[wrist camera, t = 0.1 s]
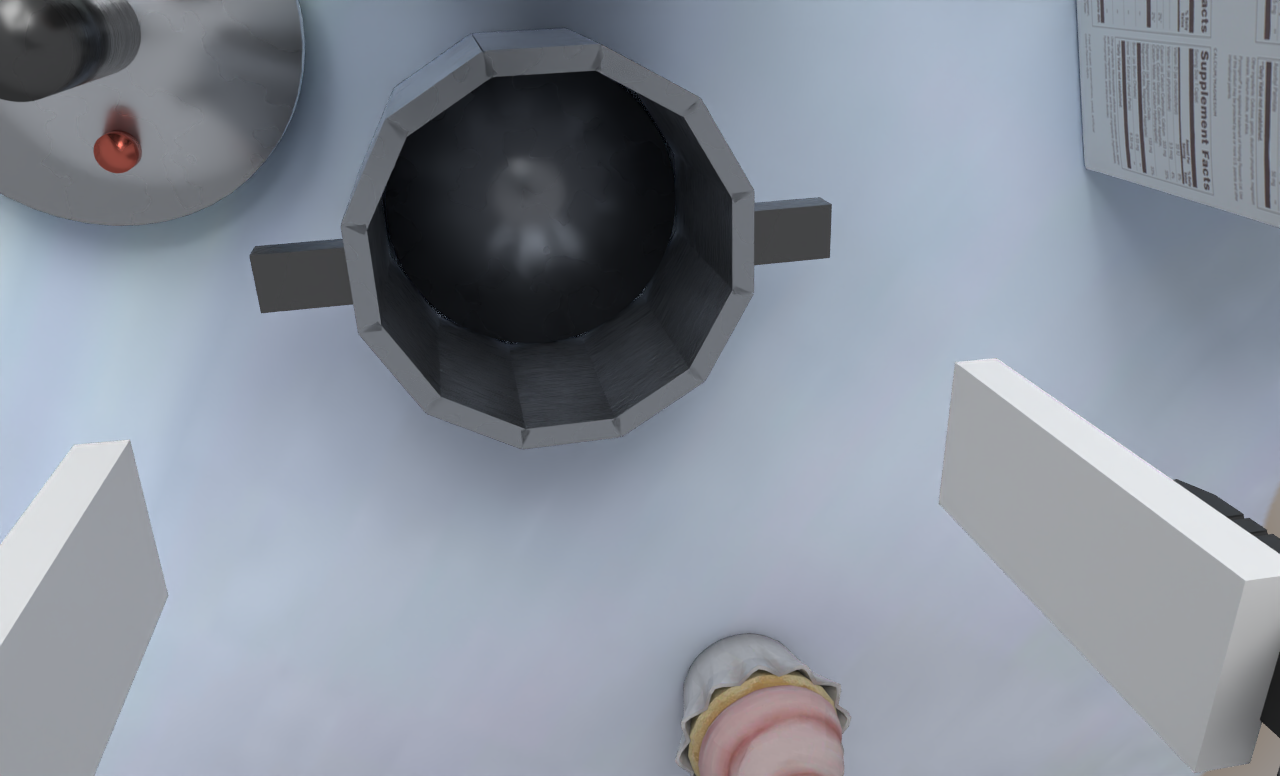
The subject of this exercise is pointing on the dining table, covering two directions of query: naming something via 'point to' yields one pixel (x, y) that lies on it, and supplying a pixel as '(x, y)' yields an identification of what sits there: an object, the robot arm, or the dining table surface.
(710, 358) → the pot
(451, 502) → the dining table surface
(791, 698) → the cupcake
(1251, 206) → the supplement box
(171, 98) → the lid
